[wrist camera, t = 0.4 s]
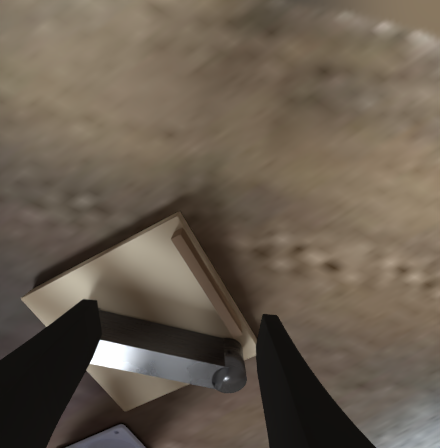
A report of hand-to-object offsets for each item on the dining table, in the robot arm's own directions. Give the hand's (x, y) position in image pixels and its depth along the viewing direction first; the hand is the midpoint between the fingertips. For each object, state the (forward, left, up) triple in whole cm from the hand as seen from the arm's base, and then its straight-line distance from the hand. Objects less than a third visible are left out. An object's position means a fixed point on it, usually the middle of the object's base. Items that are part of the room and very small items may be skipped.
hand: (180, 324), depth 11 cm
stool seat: (-7, -5, -11) cm, 14 cm away
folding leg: (-6, -6, -9) cm, 13 cm away
